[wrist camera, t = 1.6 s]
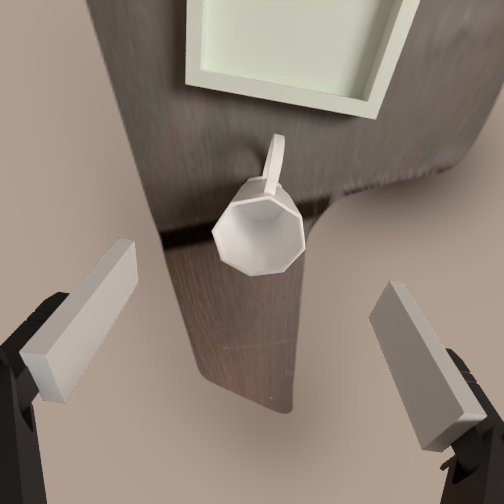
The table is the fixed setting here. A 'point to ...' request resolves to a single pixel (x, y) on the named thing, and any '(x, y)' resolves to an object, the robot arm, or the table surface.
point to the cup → (261, 222)
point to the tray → (299, 50)
